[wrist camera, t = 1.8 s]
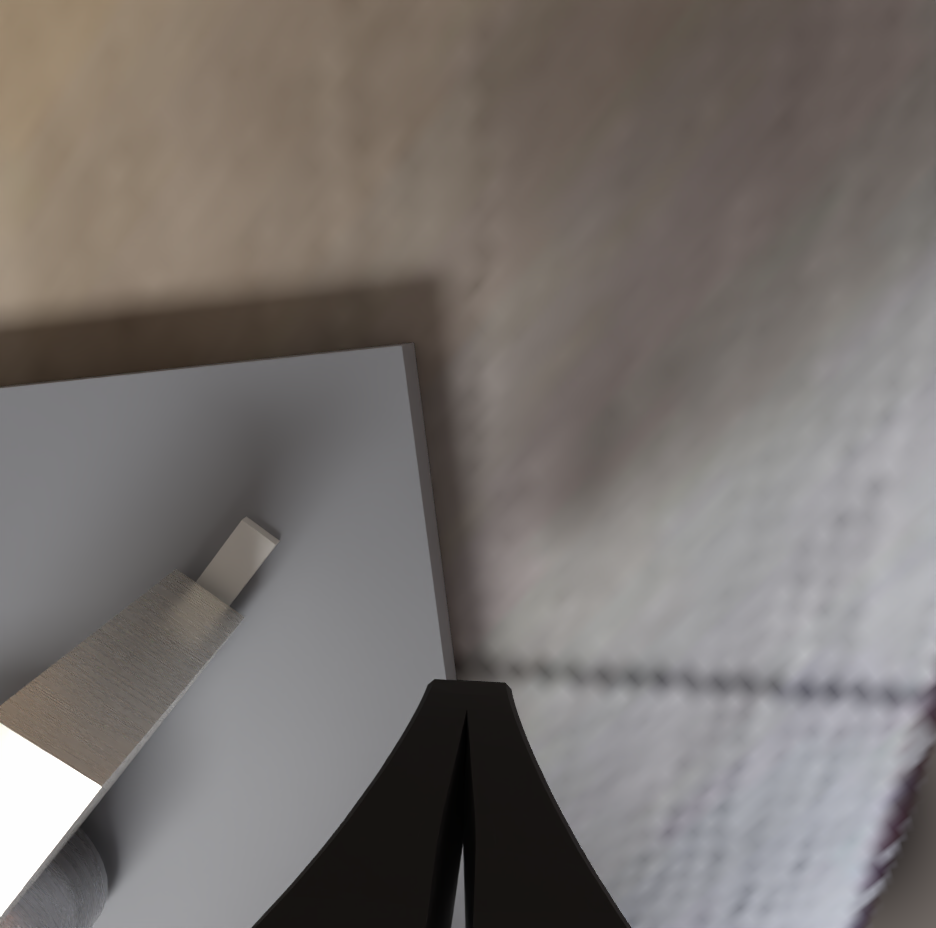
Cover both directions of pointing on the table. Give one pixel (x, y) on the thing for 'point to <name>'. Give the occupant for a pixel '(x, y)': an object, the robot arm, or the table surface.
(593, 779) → the table surface
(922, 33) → the table surface
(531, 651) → the table surface
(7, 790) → the lever handle
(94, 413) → the panel
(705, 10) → the table surface
